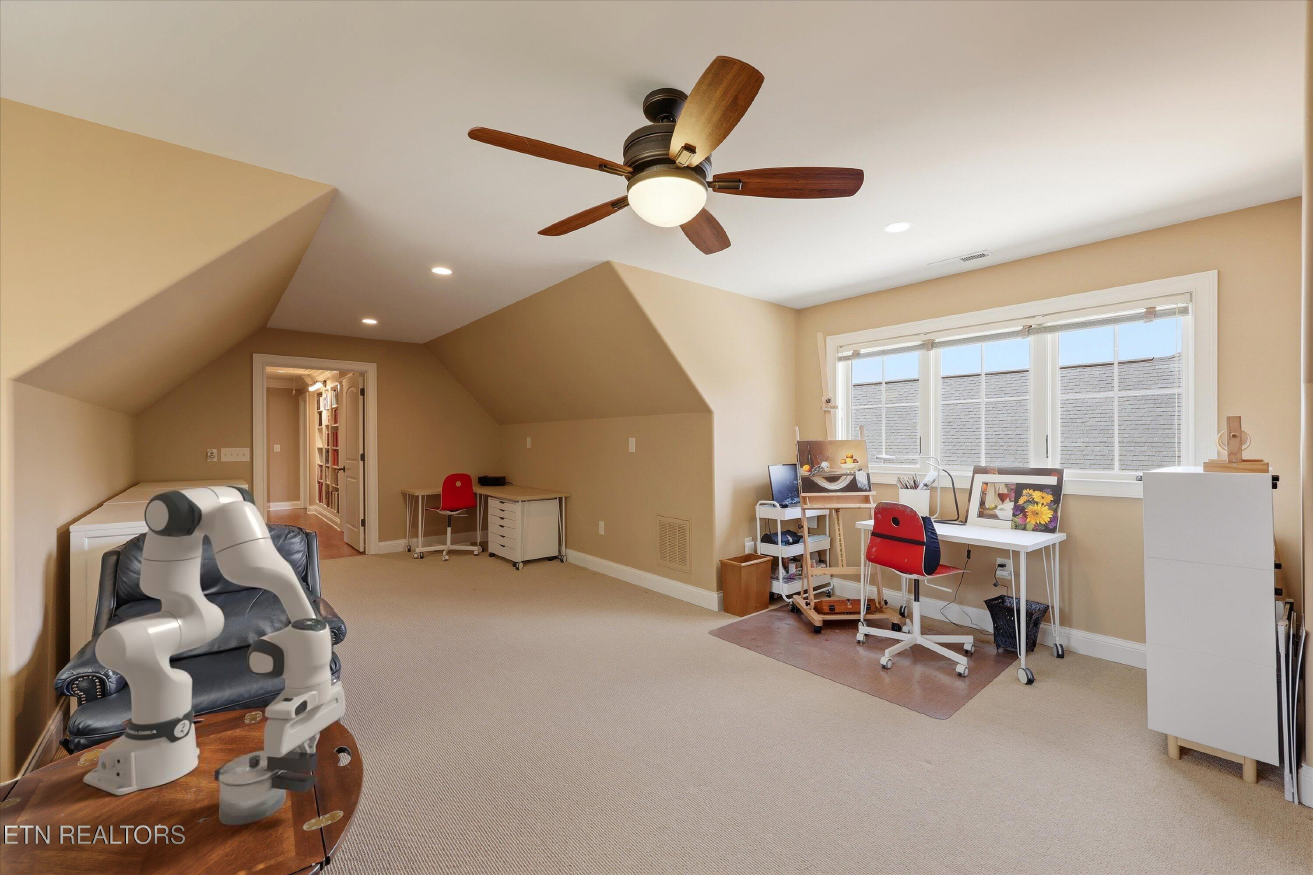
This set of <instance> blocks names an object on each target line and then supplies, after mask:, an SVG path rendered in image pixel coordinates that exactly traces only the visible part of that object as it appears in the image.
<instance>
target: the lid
mask: <svg viewBox="0 0 1313 875" xmlns="http://www.w3.org/2000/svg"><path fill="white" fill-rule="evenodd" d="M318 755H319V753H316V752H315V753H303V752H290V751H289V752H288V753H286V754H285V755H284V756H282V757H269V756H267V755H266V754H265V752H264V749H263V750H258V751H254V752H251V753H247V754H244V755H242V756H239V757H237V758H234V759H233V760H231V761H229V762H227V763H225V764H226V765H225V764H224V765H225V766H224V767H223V768H222V769H221V770H220V772H219V781H218V782H219V783H220V782H221V783H222V784H224V785H227V786H243V785H248V784H253V783H257V782H260V781H263V780H265V779H268V778H270V777H272V776H274V775H276V774H277V773H279V772H280V771H281V770H284V771H296V772H295V773H311V772H312V771H314V769H316V768H317V767H318V757H319V756H318Z"/></svg>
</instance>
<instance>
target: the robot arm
mask: <svg viewBox="0 0 1313 875" xmlns="http://www.w3.org/2000/svg"><path fill="white" fill-rule="evenodd" d="M143 516H144V521H145V524H146V526H147V528H148V529H147V533H146V536H145V540H144V544H143V550H142V556H141V566H140V575H139V577H140V578H139V588H140V590H141V591H142V593H144V594H145V595H147V597H148V596H149V597H150V598H154V599H158V600H160V601H161V610H160V611H158V612H155V613H150V614H147V615H143V616H142V615H141V616H139V617H134V618H130V619H127V620H125V621H122V622H120V623H118V624H115V625H113V626H112V627H111V626H110V627H108V628H106V629H105V630H104V631H103V632H102V633H101V634H100V635H99V637H98V639H97V641H96V643H95V646H94V647H95V649H94V650H95V651H94V652H95V656H96V659H97V661H98V662H99V664H100V665H101V666H103V667H104V668H106V669H108V670H109V671H110V670H111V671H114V672H116V673H118V674H120V675H121V676H122V677H123V678H124V679H125V681H126V682H127V684H128V686H129V688H130V689H129V691H130V695H131V696H130V697H131V717H130V718H128V719H126V720H123V721H122V722H121V723H122V725H121V728H122V727H126V728H125V731H124V733H123V734H122V735H121V736H120V737H118V738H117V739H115V741H113V742H112V743H110V744H109V745H108V746H106V748H104V749H103V750H102V751H101V752H100V755H99V757H98V761H97V762H98V763H97V767H95V768H93V769H92V770H91V771H89V772H88V773H87V774H85V776H84V777H83V780H82V782H83V783H85V784H87V785H90V786H92V787H95V788H98V789H100V790H103V791H105V792H108V793H110V794H114V795H116V796H123V795H126V794H129V793H132V792H136V791H139V790H145V789H149V788H154V787H158V786H161V785H164V784H167V783H170V782H172V781H176V780H178V779H179V778H181V777H183V776H185V775H187V774H189V773H190V772H191V771H193V770H194V769H195V768H196V767H197V766H198V765H199V764H198V763H199V758H198V756H199V755H200V752H201V751H200V748H199V747H197V741H196V739H197V738H196V732H195V731H196V730H195V724H194V718H195V717H194V716H195V711H194V706H193V705H192V702H193V701H192V700H193V699H192V697H193V679H192V676H191V675H190V674H189V673H188V672H187V671H185V670H184V669H183V670H182V669H178V668H172V667H171V665H170V657H171V656H174V655H176V654H177V655H178V654H181V653H183V652H186V651H190V650H193V649H195V648H199V647H201V646H202V645H204V644H207V643H209V642H210V641H212V640H215V639H216V638H217V637H218V636H220V635H221V633H222V631H223V629H224V625H225V616H224V614H223V611H222V609H221V608H220V607H219V606H218V605H216V604H215V603H213V602H210V601H209V600H208V599H207V598H206V596H205V594H204V593H203V590H202V587H201V566H202V565H201V563H202V553H203V539H204V536H205V535H206V536H207V537H208V538H209V541H210V543H211V547H212V551H213V554H214V557H215V558H214V559H215V561H216V565H217V567H218V569H219V571H220V574H221V575H222V576H223V577H224V579H226V580H227V581H229V582H231V583H233V584H236V585H239V586H244V587H251V588H258V589H263V590H267V591H269V592H272V593H273V594H275V595H276V597H278V599H279V600H280V602H281V604H282V607H283V608H284V610H285V612H286V614H287V615H288V618H289V620H290V622H291V623H290V624H289V625H288V626H286V627H285V628H283V629H281V630H280V629H279V630H278V631H275V632H272V633H269V634H267V635H264V636H262V637H260V638H257V639H256V640H254V641H253V642H252V643H251V645H250V647H249V649H248V652H247V655H246V656H247V658H246V660H247V661H246V662H247V667H248V671H249V672H250V673H251V674H252V675H253V676H254V677H256V678H258V679H261V680H275V679H278V678H283V679H285V683H284V685H285V686H284V687H285V688H284V689H283V690H282V691H281V692H280V694H279V695H278V696H277V697H276V698H275V699H274V700H273V701H271V703H269V705H267V706H266V708H265V711H264V716H265V717H266V718H268V720H267V722H266V723H265V726H264V732H263V735H264V736H263V750H264V752H265V754H266V755H267V756H269V757H282V756H284V755H285V754H286V753H288V752H289V751H291V750H293V749H294V748H296V747H298V749H299V750H300V752H303V753H316V746H317V743H318V741H319V738H320V735H321V734H320V733H321V731H322V730H325V729H326V728H327V727H329V726H330V725H331V724H333V723H335V722H336V721H337V720H339V719H341V718H342V717H343V716H344V715H345V712H346V698H345V696H346V695H345V691H344V688H343V682H342V681H341V679H338V678H333V679H332V673H331V672H332V671H331V669H330V662H331V660H332V644H333V639H334V638H333V632H332V630H331V628H330V626H329V624H328V623H327V622H326V620H324V618H323V617H322V616H321V615H320V613H319V611H318V608H317V607H316V605H315V604H314V601H313V599H312V597H311V596H310V593H309V591H308V590H307V587H306V586H305V584H304V582H303V579H302V578H301V575H300V574H299V572H298V571H297V569H296V567H295V566H294V565H293V564H292V562H289V561H287V560H286V559H284V557H283V556H282V555H281V554H280V553H279V552H278V550H277V549H276V547H275V545H274V543H273V539H272V537H271V535H270V531H269V529H268V527H267V524H266V523H265V522H266V521H265V520H264V518H263V517H262V514H261V513H260V512H259V510H258V508H257V507H256V501H255V498H254V496H253V494H252V493H251V491H250V490H248V489H247V488H244V487H241V486H235V485H226V486H200V487H196V488H187V489H182V490H173V489H172V490H168V491H165V492H161V493H158V494H156V495H154V496H152V497H151V498H150V499H149V500H148V502H147V505H146V507H145V509H144V515H143Z"/></svg>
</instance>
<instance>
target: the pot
mask: <svg viewBox="0 0 1313 875" xmlns="http://www.w3.org/2000/svg"><path fill="white" fill-rule="evenodd" d="M226 764H227V763H225V764H223V765H222V766H219V767H218V768H217V769H214V781H216V782H219V805H218V806H219V807H218V808H219V810H218V811H219V812H218V813H219V815H218V819H219V821H220V822H221V823H222V824H224V825H227V826H241V825H246V824H251V823H254V822H257V821H259V820H262V819H265V818H267V817H269V816H271V815H273V814H274V813H275V812H277V811H278V810H279V809H280V808H282V807H283V805H284V804H285V802H286V798H287V796H286V793H287V791H291V792H299V793H307V792H308V791H310V789H312V788H313V787H314V786H315V782H316V781H315V777H316V776H315V775H314V774H308V773H307V774H306V773H301V772H293V773H292V772H286V771H284V770H281V771H280V772H279V773H277V774H276V775H274V776H272V777H270V778H268V779H265V780H263V781H260V782H257V783H253V784H248V785H243V786H227V785H224V784H222V783H221V782H220V781H219V772H220V770H221V769H222V768H223V767H224V766H225V765H226Z"/></svg>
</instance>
